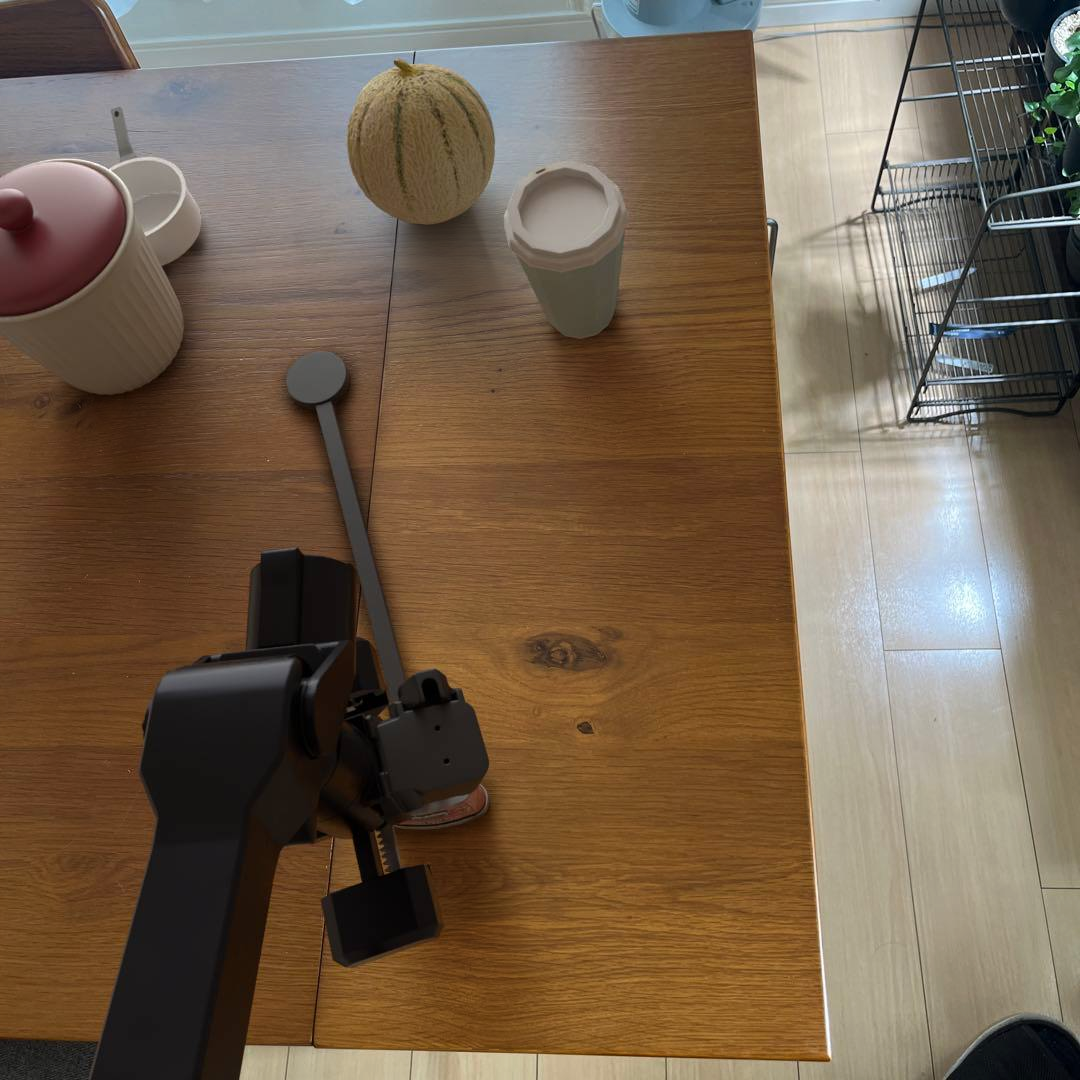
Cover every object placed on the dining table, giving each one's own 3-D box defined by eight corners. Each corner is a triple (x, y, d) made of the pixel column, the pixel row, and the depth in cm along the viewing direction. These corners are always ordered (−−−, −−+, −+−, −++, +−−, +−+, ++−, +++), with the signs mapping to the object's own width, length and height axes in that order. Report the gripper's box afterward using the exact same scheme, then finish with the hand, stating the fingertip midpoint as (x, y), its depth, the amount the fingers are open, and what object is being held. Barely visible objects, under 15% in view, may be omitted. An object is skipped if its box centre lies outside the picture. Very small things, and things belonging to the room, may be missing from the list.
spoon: (448, 729, 78) (445, 725, 77) (378, 753, 78) (373, 750, 77) (342, 350, 95) (338, 343, 94) (284, 369, 95) (280, 362, 94)
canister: (227, 272, 101) (125, 108, 82) (197, 420, 94) (77, 278, 74) (66, 282, 103) (-70, 124, 84) (25, 427, 96) (-135, 291, 77)
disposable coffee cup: (653, 329, 92) (651, 217, 78) (553, 378, 91) (533, 273, 77) (602, 254, 96) (591, 136, 82) (506, 300, 95) (479, 188, 82)
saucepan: (188, 131, 110) (165, 90, 105) (217, 257, 102) (194, 219, 97) (92, 163, 110) (65, 124, 105) (114, 292, 102) (85, 256, 97)
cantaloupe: (407, 277, 98) (365, 165, 84) (347, 188, 104) (299, 70, 90) (532, 210, 99) (511, 90, 86) (466, 127, 106) (437, 2, 92)
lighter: (390, 835, 75) (352, 816, 66) (387, 791, 76) (350, 767, 67) (491, 820, 75) (467, 799, 66) (487, 777, 76) (463, 750, 67)
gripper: (509, 894, 47) (544, 914, 61) (417, 568, 55) (467, 652, 70) (294, 969, 47) (379, 972, 61) (232, 630, 55) (320, 701, 69)
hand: (391, 814), depth 65 cm, fingers open, 9 cm apart
